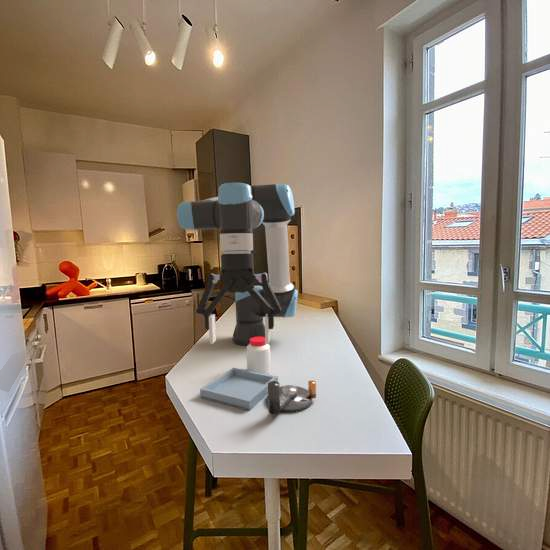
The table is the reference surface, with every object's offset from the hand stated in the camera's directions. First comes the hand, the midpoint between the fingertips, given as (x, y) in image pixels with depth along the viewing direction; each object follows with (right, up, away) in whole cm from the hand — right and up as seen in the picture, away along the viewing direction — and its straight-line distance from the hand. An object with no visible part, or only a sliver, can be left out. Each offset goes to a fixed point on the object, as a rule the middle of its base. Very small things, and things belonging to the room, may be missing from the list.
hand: (240, 342), depth 75 cm
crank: (+10, -16, +5) cm, 20 cm away
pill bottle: (+3, -16, +29) cm, 33 cm away
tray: (-1, -17, +15) cm, 23 cm away
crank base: (+12, -17, +9) cm, 23 cm away
